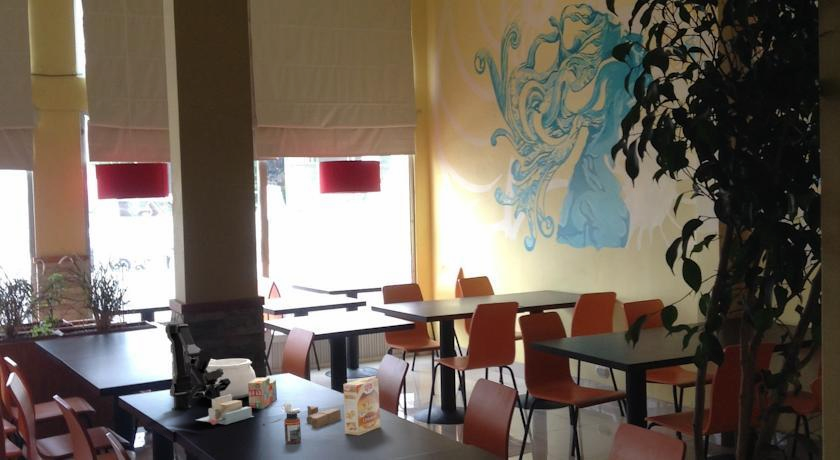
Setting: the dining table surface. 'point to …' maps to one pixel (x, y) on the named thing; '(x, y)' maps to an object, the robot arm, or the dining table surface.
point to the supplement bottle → (292, 428)
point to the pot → (234, 375)
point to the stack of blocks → (262, 392)
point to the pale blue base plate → (231, 416)
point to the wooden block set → (322, 416)
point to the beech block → (229, 406)
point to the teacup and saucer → (288, 408)
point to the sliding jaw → (215, 410)
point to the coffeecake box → (361, 406)
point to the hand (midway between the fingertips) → (220, 403)
